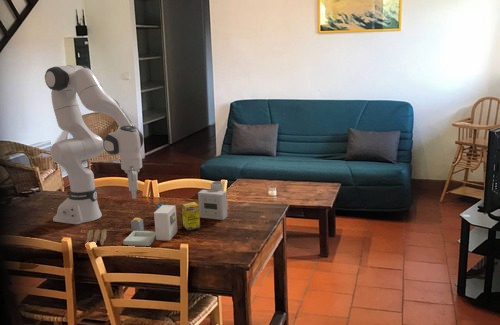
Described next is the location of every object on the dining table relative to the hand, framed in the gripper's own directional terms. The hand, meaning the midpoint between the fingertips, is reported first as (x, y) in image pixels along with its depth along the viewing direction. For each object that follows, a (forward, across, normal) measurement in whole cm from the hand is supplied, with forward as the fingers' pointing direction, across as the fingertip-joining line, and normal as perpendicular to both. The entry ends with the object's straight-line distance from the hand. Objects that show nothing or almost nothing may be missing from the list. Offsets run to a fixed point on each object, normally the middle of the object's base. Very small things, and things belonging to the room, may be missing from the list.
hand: (134, 194), depth 227 cm
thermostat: (+17, +11, -38) cm, 43 cm away
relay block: (+17, 0, 0) cm, 17 cm away
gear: (+17, +9, -14) cm, 24 cm away
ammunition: (+17, -8, +17) cm, 25 cm away
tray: (+16, -12, -2) cm, 21 cm away
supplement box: (+17, -4, -24) cm, 29 cm away
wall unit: (+16, -10, -12) cm, 23 cm away
